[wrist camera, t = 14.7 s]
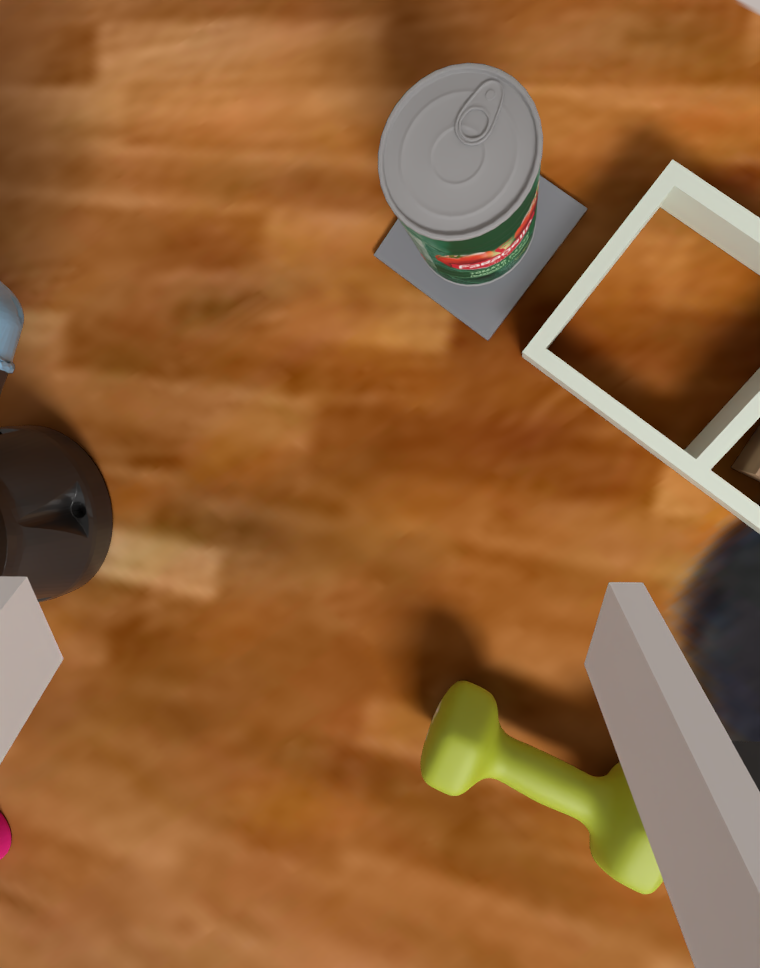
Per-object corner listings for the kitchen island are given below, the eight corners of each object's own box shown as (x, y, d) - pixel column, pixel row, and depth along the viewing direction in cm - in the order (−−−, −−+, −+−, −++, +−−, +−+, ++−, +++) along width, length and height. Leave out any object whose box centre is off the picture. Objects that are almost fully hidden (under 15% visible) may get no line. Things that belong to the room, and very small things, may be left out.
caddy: (522, 356, 38) (522, 352, 35) (657, 183, 35) (672, 159, 32) (786, 554, 36) (813, 569, 33) (958, 388, 33) (1008, 385, 29)
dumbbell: (420, 738, 44) (401, 801, 37) (459, 651, 42) (446, 700, 35) (626, 844, 41) (648, 932, 34) (677, 755, 39) (711, 830, 32)
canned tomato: (493, 308, 38) (482, 270, 27) (395, 251, 39) (348, 193, 28) (561, 196, 36) (578, 108, 25) (456, 139, 37) (430, 32, 26)
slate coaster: (375, 256, 40) (373, 255, 39) (463, 124, 37) (462, 121, 37) (488, 341, 39) (487, 340, 38) (586, 210, 36) (587, 208, 36)
